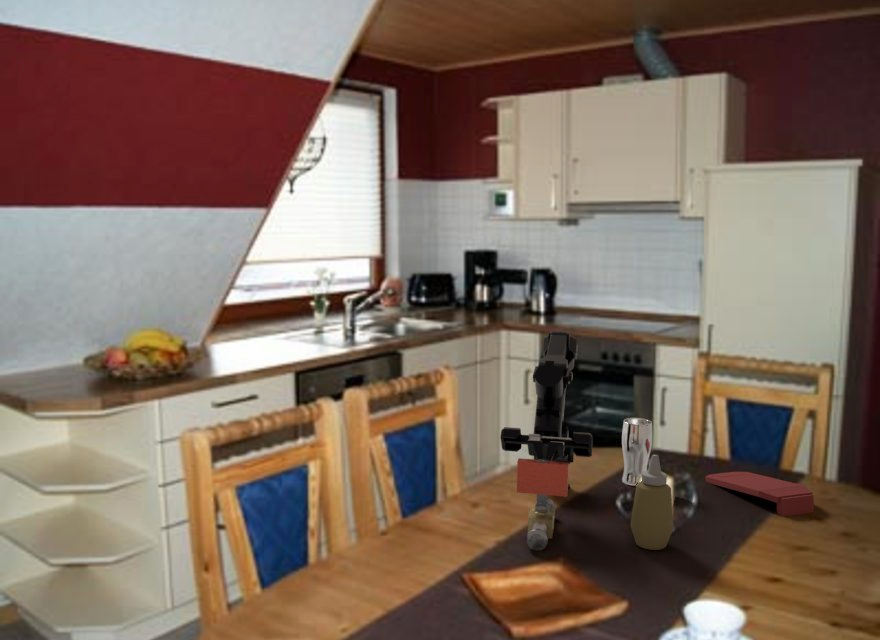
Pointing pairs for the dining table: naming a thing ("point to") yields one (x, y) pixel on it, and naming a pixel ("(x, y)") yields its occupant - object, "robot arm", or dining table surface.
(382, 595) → the dining table surface
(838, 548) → the dining table surface
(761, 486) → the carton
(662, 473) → the squeeze bottle
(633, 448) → the beer glass
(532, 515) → the valve
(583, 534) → the dining table surface
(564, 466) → the valve lever
